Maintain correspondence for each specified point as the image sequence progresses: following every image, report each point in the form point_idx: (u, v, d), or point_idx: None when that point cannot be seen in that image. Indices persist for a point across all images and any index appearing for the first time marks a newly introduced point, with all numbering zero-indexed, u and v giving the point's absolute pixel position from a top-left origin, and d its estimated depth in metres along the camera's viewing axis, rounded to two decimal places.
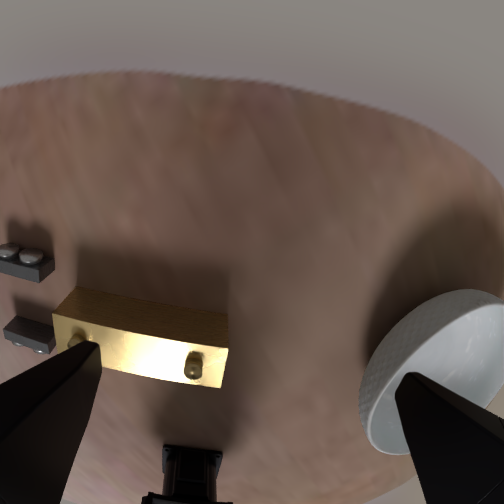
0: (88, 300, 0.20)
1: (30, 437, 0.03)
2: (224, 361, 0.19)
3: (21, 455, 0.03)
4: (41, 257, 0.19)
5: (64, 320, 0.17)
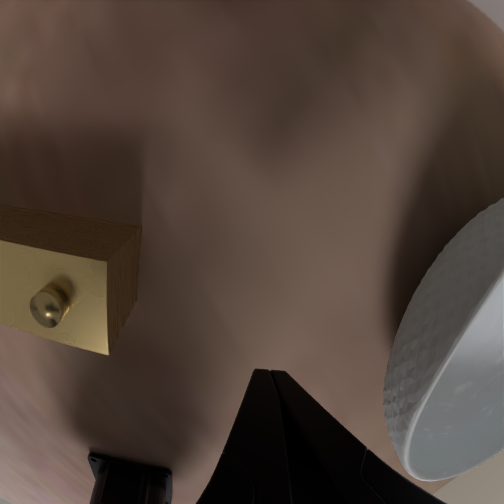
0: None
1: None
2: (103, 293, 0.09)
3: None
4: None
5: None
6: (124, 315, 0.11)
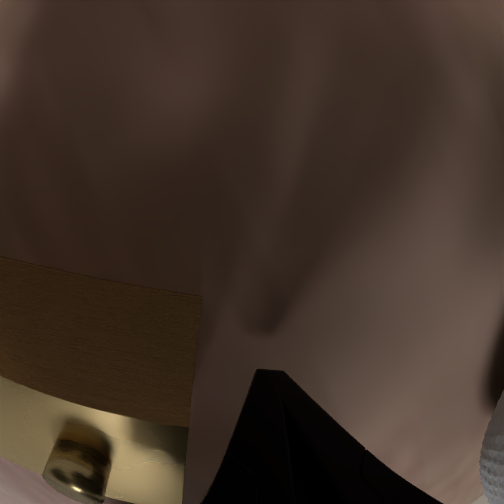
0: None
1: None
2: (180, 462, 0.04)
3: None
4: None
5: None
6: None
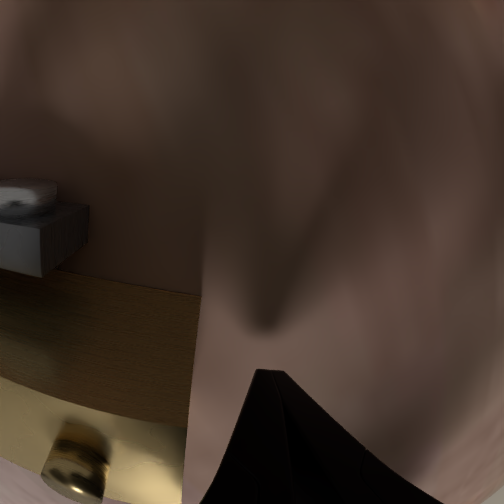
0: None
1: None
2: (178, 462, 0.04)
3: None
4: (51, 195, 0.06)
5: None
6: None
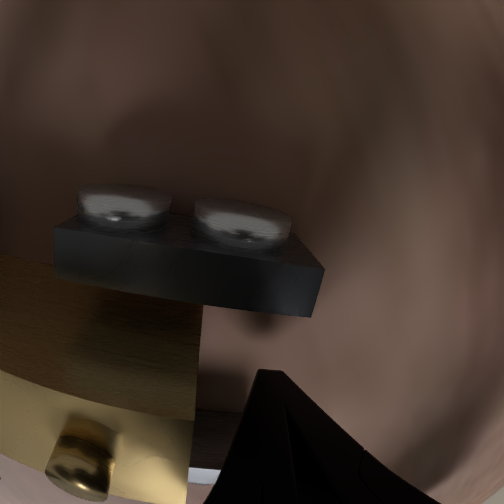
0: None
1: None
2: (184, 457, 0.04)
3: None
4: None
5: None
6: None
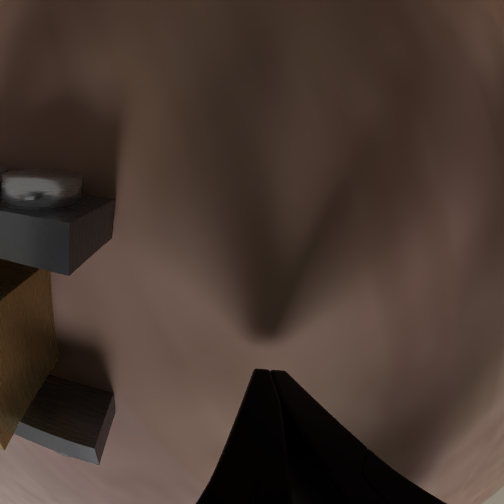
0: None
1: None
2: None
3: None
4: (78, 187, 0.06)
5: None
6: (30, 389, 0.06)
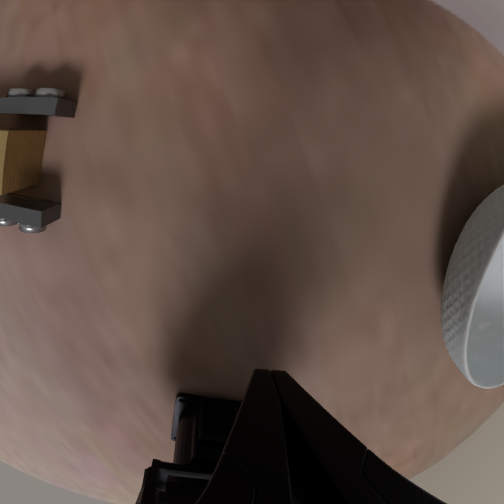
0: None
1: None
2: (4, 150, 0.12)
3: None
4: (63, 93, 0.14)
5: None
6: (22, 182, 0.14)
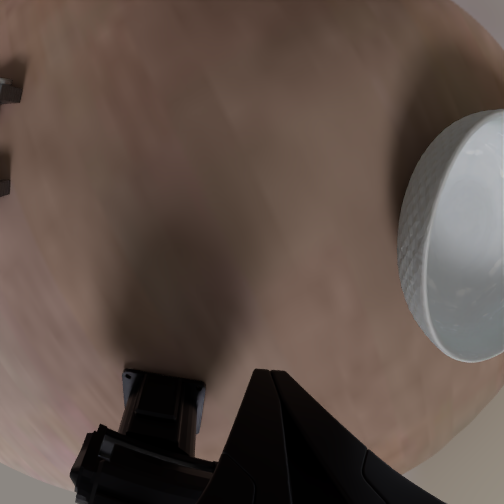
0: None
1: None
2: None
3: None
4: (9, 82, 0.13)
5: None
6: None
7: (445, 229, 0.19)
